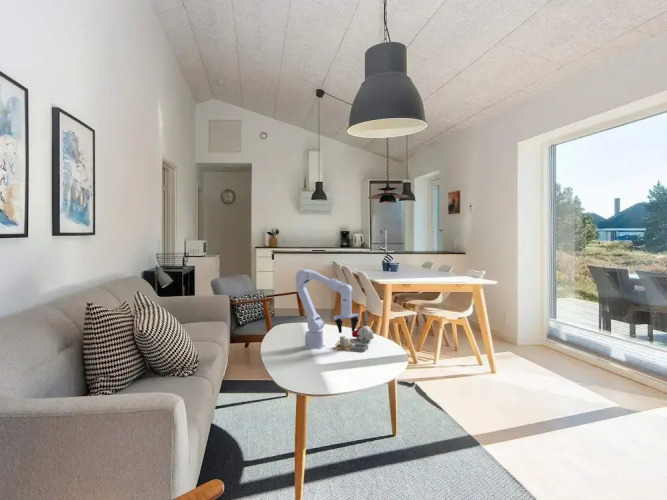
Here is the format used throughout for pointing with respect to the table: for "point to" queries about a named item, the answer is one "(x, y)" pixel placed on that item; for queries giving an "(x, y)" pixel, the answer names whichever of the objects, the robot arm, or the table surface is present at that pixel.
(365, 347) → the slate dish
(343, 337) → the grey capsule cylinder
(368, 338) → the white and red lump
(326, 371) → the table surface
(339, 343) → the oak lid
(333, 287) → the robot arm
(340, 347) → the oak box
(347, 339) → the pale grey capsule
